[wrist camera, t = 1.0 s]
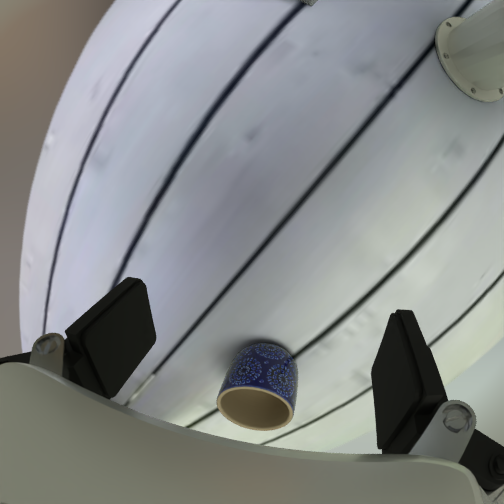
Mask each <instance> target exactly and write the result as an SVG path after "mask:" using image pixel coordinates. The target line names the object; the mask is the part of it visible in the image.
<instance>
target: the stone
mask: <svg viewBox="0 0 504 504" xmlns="http://www.w3.org/2000/svg"><path fill="white" fill-rule="evenodd" d="M300 1H302V2H304V3H306V4H308V5H310V6H312V5H313V4H314V3H315V2H316V1H317V0H300Z"/></svg>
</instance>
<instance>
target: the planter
mask: <svg viewBox="0 0 504 504" xmlns="http://www.w3.org/2000/svg"><path fill="white" fill-rule="evenodd" d="M297 388H298V369H297V365H296V362H295V361H294V359H293V357H292V356H291V355H290V354H289V353H288V352H287V351H286V350H285V349H283V348H282V347H280V346H277V345H275V344H271V343H257V344H253V345H250V346H248V347H246V348H244V349H243V350H241V351H240V352H239V353H238V354H237V356H236V357H235V358H234V360H233V362H232V364H231V366H230V368H229V370H228V372H227V374H226V376H225V379H224V381H223V384H222V386H221V389H220V391H219V394H218V397H217V407H218V409H219V411H220V412H221V413H222V415H223V416H224V417H226V418H227V419H228V420H230V421H231V422H233V423H235V424H237V425H239V426H241V427H244V428H248V429H252V430H261V431H267V430H275V429H279V428H281V427H284V426H285V425H287V424H288V423H289V422H290V421H291V420H292V418H293V415H294V410H295V404H296V397H297Z"/></svg>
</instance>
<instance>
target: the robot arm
mask: <svg viewBox="0 0 504 504" xmlns="http://www.w3.org/2000/svg"><path fill="white" fill-rule="evenodd" d="M435 45H436V50H437V54H438V57H439V60H440V62H441V64H442V66H443V68H444V69H445V71H446V73H447V74H448V76H449V77H450V78H451V80H452V81H453V82H454V83H455V84H456V85H457V86H458V87H459V88H460V89H461V90H462V91H463V92H464V93H466V94H467V95H468V96H470V97H472V98H474V99H476V100H479V101H482V102H494V101H497V100H499V99H501V98H502V97H503V96H504V0H493V1H492V2H491V3H489V4H488V5H486V6H485V7H483V8H482V9H480V10H479V11H477V12H476V13H475V14H473V15H472V16H470V17H469V18H468V19H466V18H461V17H451V18H448V19H446V20H445V21H443V22H442V23H441V24H440V25H439V27H438V29H437V31H436V35H435ZM444 57H445V58H444ZM65 333H66V335H67V338H66V339H65V340H64V338H63V336H62V335H60V334H58V333H48V334H45V335H43V336H41V337H40V338H38V339H37V340H36V341H35V343H34V344H33V347H32V352H27V353H22V354H18V355H13V356H7V357H4V358H0V504H504V447H503V446H502V445H500V444H498V443H497V442H495V441H494V440H492V439H491V438H489V437H487V436H486V435H484V434H483V433H481V432H480V431H478V430H476V429H475V426H476V415H475V413H474V411H473V409H472V408H471V407H470V406H469V405H468V404H466V403H465V402H462V401H460V400H450V401H448V399H447V395H446V392H445V389H444V386H443V383H442V380H441V377H440V374H439V371H438V368H437V366H436V363H435V360H434V357H433V355H432V352H431V350H430V348H429V347H427V345H426V342H425V340H424V337H423V335H422V332H421V330H420V327H419V325H418V322H417V320H416V318H415V315H414V313H413V311H412V310H399V309H398V310H396V312H395V313H391V315H390V317H389V321H388V324H387V327H386V330H385V333H384V336H383V339H382V342H381V345H380V348H379V350H378V353H377V356H376V359H375V361H374V364H373V367H372V371H371V378H372V387H373V396H374V406H375V418H376V432H377V447H378V449H382V454H343V453H326V452H312V451H301V450H292V449H284V448H277V447H270V446H264V445H258V444H252V443H247V442H242V441H237V440H232V439H228V438H223V437H219V436H215V435H211V434H207V433H203V432H199V431H196V430H192V429H189V428H185V427H182V426H179V425H175V424H172V423H169V422H166V421H163V420H160V419H157V418H154V417H151V416H149V415H146V414H143V413H141V412H138V411H135V410H133V409H130V408H128V407H125V406H123V405H120V404H118V403H116V402H113V401H111V400H110V399H111V397H112V398H113V397H115V396H116V395H117V393H118V392H119V390H120V389H121V388H122V386H123V385H124V384H125V382H126V381H127V380H128V378H129V377H130V376H131V374H132V373H133V372H134V370H135V369H136V368H137V366H138V365H139V364H140V362H141V361H142V360H143V358H144V357H145V356H146V354H147V353H148V352H149V350H150V349H151V348H152V346H153V345H154V344H155V341H156V332H155V328H154V323H153V319H152V314H151V309H150V304H149V299H148V294H147V288H146V285H145V284H144V283H143V281H142V280H141V279H138V278H132V277H127V278H126V279H124V280H123V281H122V282H121V283H120V284H118V285H117V286H116V287H115V288H114V289H112V290H111V291H110V292H109V293H108V294H106V295H105V296H104V297H103V298H102V299H100V300H99V301H98V302H97V303H96V304H95V305H93V306H92V307H91V308H90V309H89V310H88V311H87V312H85V313H84V314H83V315H82V316H81V317H80V318H79V319H77V320H76V321H75V322H74V323H73V324H72V325H71V326H70V327H68V328H67V329H66V330H65Z"/></svg>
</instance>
